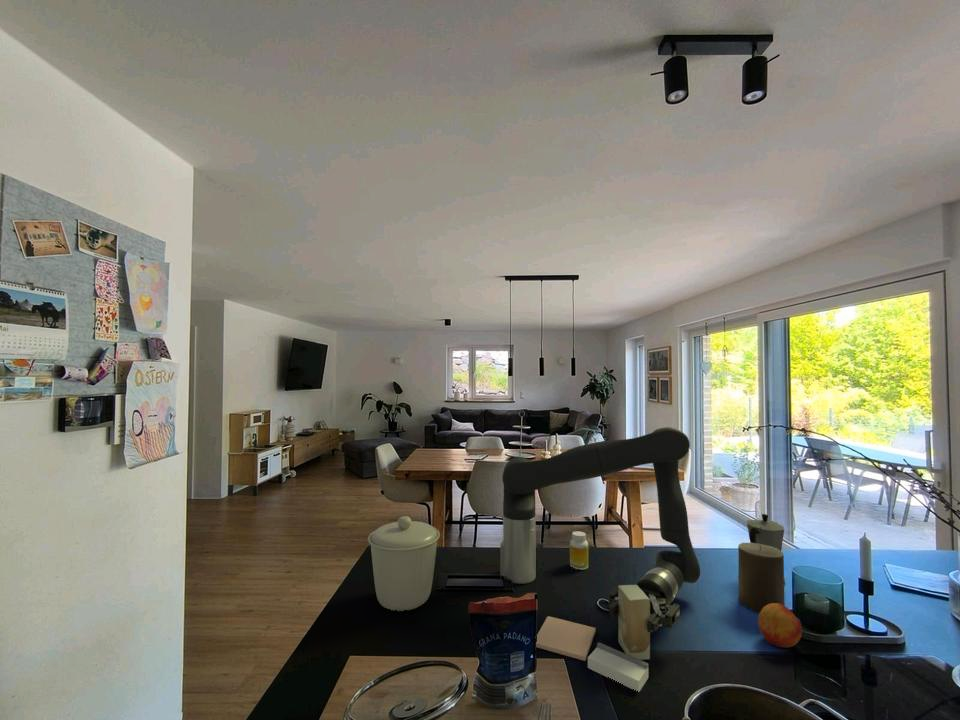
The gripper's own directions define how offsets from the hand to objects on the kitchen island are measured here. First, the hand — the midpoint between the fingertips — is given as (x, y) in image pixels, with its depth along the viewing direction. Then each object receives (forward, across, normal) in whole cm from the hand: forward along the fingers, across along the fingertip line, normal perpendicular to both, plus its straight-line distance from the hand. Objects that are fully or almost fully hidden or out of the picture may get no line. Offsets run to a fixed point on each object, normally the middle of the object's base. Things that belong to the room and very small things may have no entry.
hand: (629, 620), depth 88 cm
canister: (+16, -52, +8) cm, 55 cm away
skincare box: (-2, 0, +7) cm, 8 cm away
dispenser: (+6, 0, +7) cm, 10 cm away
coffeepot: (-57, +16, +7) cm, 60 cm away
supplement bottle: (-31, -27, +8) cm, 42 cm away
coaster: (+3, -13, +7) cm, 15 cm away
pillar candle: (-41, +18, +7) cm, 45 cm away
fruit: (-25, +23, +7) cm, 35 cm away
